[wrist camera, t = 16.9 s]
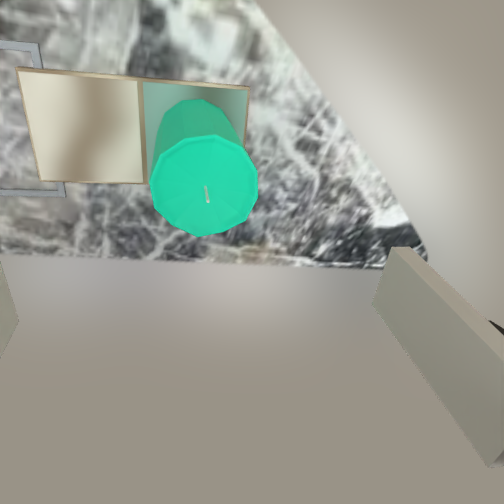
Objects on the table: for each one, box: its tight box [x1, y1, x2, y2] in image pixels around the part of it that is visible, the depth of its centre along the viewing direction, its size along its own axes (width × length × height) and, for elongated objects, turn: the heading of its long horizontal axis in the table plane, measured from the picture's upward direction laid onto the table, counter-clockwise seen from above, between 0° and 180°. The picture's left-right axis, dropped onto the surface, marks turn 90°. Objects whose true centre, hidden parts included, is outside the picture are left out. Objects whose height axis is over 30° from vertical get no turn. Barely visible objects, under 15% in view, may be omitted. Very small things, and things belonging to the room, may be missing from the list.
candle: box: [149, 99, 258, 237], centre depth 23 cm, size 6×6×12 cm
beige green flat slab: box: [15, 66, 250, 185], centre depth 28 cm, size 16×8×1 cm, turn 84°
